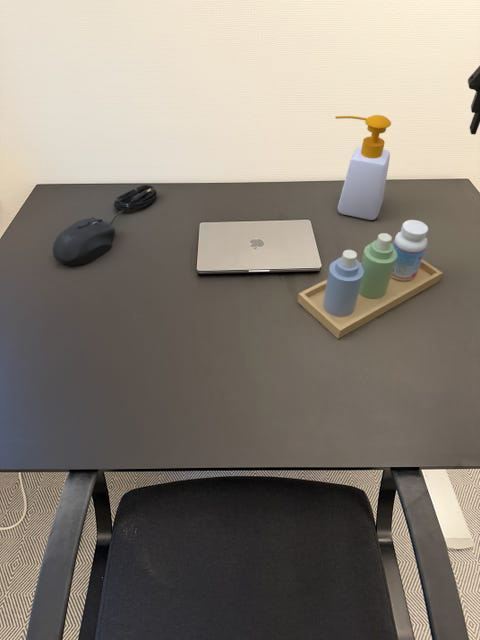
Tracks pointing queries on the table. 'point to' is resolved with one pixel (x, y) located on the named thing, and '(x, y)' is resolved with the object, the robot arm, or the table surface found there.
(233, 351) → the table surface
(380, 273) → the green bottle
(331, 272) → the blue-grey bottle
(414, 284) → the tray
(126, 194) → the computer mouse
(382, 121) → the soap bottle
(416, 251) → the pill bottle
